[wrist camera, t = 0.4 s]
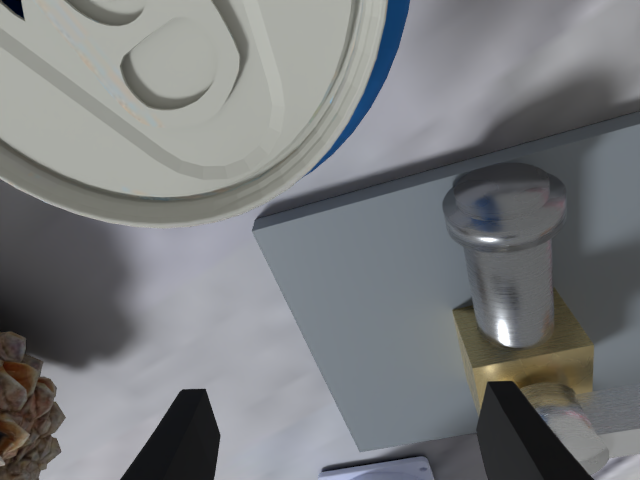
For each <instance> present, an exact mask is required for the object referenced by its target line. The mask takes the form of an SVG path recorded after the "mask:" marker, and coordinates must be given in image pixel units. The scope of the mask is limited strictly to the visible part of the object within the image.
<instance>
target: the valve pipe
mask: <svg viewBox="0 0 640 480" xmlns="http://www.w3.org/2000/svg"><path fill="white" fill-rule="evenodd" d="M442 208H443V213H444V218H445V223H446V228H447V232H448V234H449V236H450V237H451V238H452V239H453V240H454V241H455V242H456V243H458V244H460V245H461V246H463V249H464V255H465V260H466V266H467V272H468V278H469V284H470V289H471V295H472V301H473V305H471V306H467V307H462V308H458V309H453V310H452V313H453V318H454V322H455V327H456V332H457V337H458V341H459V346H460V351H461V356H462V360H463V365H464V370H465V375H466V379H467V383H468V386H469V389H470V392H471V395H472V398H473V401H474V404H475V407H476V410H477V413H478V416H479V415H480V411H481V406H482V402H483V398H484V393H485V389H486V385H487V381H513V382H514V383H515V384H516V385H517V386H518V388H519V389H521V388H523V387H526V386H528V385H532V384H536V383H543V382H554V383H561V384H564V385H567V386H569V387H570V388H572V389H573V390H574V391H575V393H576V394H582V393H587V392H592V390H593V362H594V344H593V343H592V341H591V340H590V338H589V337H588V335H587V334H586V333H585V331H584V330H583V328H582V327H581V325H580V324H579V322H578V321H577V319H576V318H575V317H574V315H573V314H572V312H571V311H570V309H569V308H568V306H567V305H566V303H565V302H564V301H563V299H562V298H561V296H560V295H559V293H558V292H557V290H556V289H555V287H553V264H552V238H553V237H555V236H556V235H557V234H558V233H559V232H560V231H561V230H562V229H563V227H564V225H565V223H566V219H567V192H566V187H565V185H564V184H563V183H562V181H561V180H560V179H558V178H557V177H555V176H554V175H552V174H549V173H547V172H545V171H544V170H542V169H540V168H538V167H536V166H533V165H529V164H523V163H502V164H495V165H490V166H486V167H483V168H480V169H477V170H475V171H472V172H470V173H469V174H467V175H465V176H464V177H463V178H461V179H460V180H459V181H458V182H457V184H456V185H455V187H452V188H451V189H450V190H449V191H448V192H447V194H446V195H445V197H444V199H443V203H442Z"/></svg>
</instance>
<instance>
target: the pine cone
mask: <svg viewBox="0 0 640 480" xmlns="http://www.w3.org/2000/svg"><path fill="white" fill-rule="evenodd" d="M25 350H26V338H25V337H23V336H21V335H18V334H16V333H14V332H1V333H0V480H39V474H40V471H41V470H44V469H46V468H47V464H48V463H49V462H50V461H51V460H52V459H54V458H55V457H56V456H57V455H58V454H60V453H61V449H60V446H59V444H58V441H57V438H53V437H52V436H51V434H53V433H55V432H56V431H57V429H58V428H59V426H60V425H61V424H62V422H63V421H64V419H65V418H66V417H65V415H64V414H63V412H62V411H61V409H60V408H59V406H58V404H57V403H56V402H53V400H54V398H55V396H56V390H57V388H56V386H55V385H54V383H53V382H52V381H51V379H49V378H46V377H40V374H41V369H42V364H43V361H40V360H38V359H36V358H33V357H31V356H29V355H26V354H24V353H25Z"/></svg>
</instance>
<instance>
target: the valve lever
mask: <svg viewBox="0 0 640 480" xmlns="http://www.w3.org/2000/svg"><path fill="white" fill-rule="evenodd" d="M520 390H521V392H522V393H523V394H524V395H525V397H526V398H527V399H528V401H529V402H530V403H531V405H532V406H533V407H534V408H535V410H536V411H537V412H538V414H539V415H540V416H541V417H542V419H543V420H544V421H545V422H546V424H547V425H548V426H549V427H550V429H551V430H552V431H553V432H554V434H555V435H556V436H557V437H558V438H559V440H560V441H561V442H562V443H563V444H564V446H565V447H566V448H567V449H568V450H569V452H570V453H571V454H572V455H573V456H574V457H575V459H576V460H577V461H578V462H579V463H580V464H581V466H582V467H583V468H584V469H585V470H586V471H587V473H588V474H589V475H592V474H594V473H596V472H597V471H599V470H600V469H601V468H603V467H604V466H605V465H606V463H607V462H608V460H609V458H615V457H622V456H629V455H636V454H640V383H639V384H633V385H628V386H622V387H616V388H610V389H605V390H599V391H593V392H587V393H582V394H576V393H575V391H574V390H573V389H572V388H570V387H569V386H567V385H564V384H561V383H554V382H543V383H536V384H532V385H528V386H526V387H523V388H521V389H520Z"/></svg>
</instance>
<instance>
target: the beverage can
mask: <svg viewBox="0 0 640 480" xmlns="http://www.w3.org/2000/svg"><path fill="white" fill-rule="evenodd" d="M409 3H410V0H0V179H1V180H3V181H5V182H6V183H8V184H10V185H11V186H13V187H15V188H17V189H18V190H20V191H23V192H25V193H27V194H29V195H31V196H33V197H35V198H37V199H39V200H41V201H44V202H46V203H48V204H50V205H53V206H56V207H58V208H61V209H64V210H67V211H69V212H72V213H75V214H77V215H81V216H85V217H89V218H92V219H96V220H100V221H104V222H108V223H114V224H120V225H126V226H133V227H146V228H178V227H192V226H197V225H203V224H209V223H214V222H218V221H222V220H225V219H228V218H231V217H234V216H238V215H241V214H243V213H245V212H248V211H250V210H252V209H254V208H256V207H259V206H261V205H263V204H265V203H267V202H268V201H270V200H272V199H273V198H275V197H276V196H278V195H280V194H281V193H283V192H284V191H286V190H287V189H289V188H290V187H291V186H293V185H294V184H295V183H296V182H297V181H299V180H300V179H301V178H302V177H304V176H306V175H307V174H309V173H310V172H312V171H313V170H314V169H316V168H317V167H318V166H319V165H320V164H322V163H323V162H324V161H325V160H326V159H328V158H329V157H330V156H331V155H332V154H334V152H335V151H336V150H337V149H338V148H339V147H340V146H341V145H342V144H343V143H344V142H345V141H346V139H347V138H348V137H349V136H350V135H351V134H352V133H353V132H354V130H355V129H356V127H357V126H358V125H359V123H360V122H361V120H362V119H363V118H364V116H365V115H366V113H367V112H368V110H369V109H370V108H371V106H372V104H373V102H374V101H375V99H376V97H377V95H378V93H379V91H380V89H381V88H382V86H383V84H384V82H385V80H386V78H387V76H388V73H389V71H390V68H391V65H392V63H393V60H394V58H395V55H396V53H397V50H398V48H399V44H400V41H401V37H402V33H403V29H404V26H405V22H406V18H407V14H408V10H409Z"/></svg>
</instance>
